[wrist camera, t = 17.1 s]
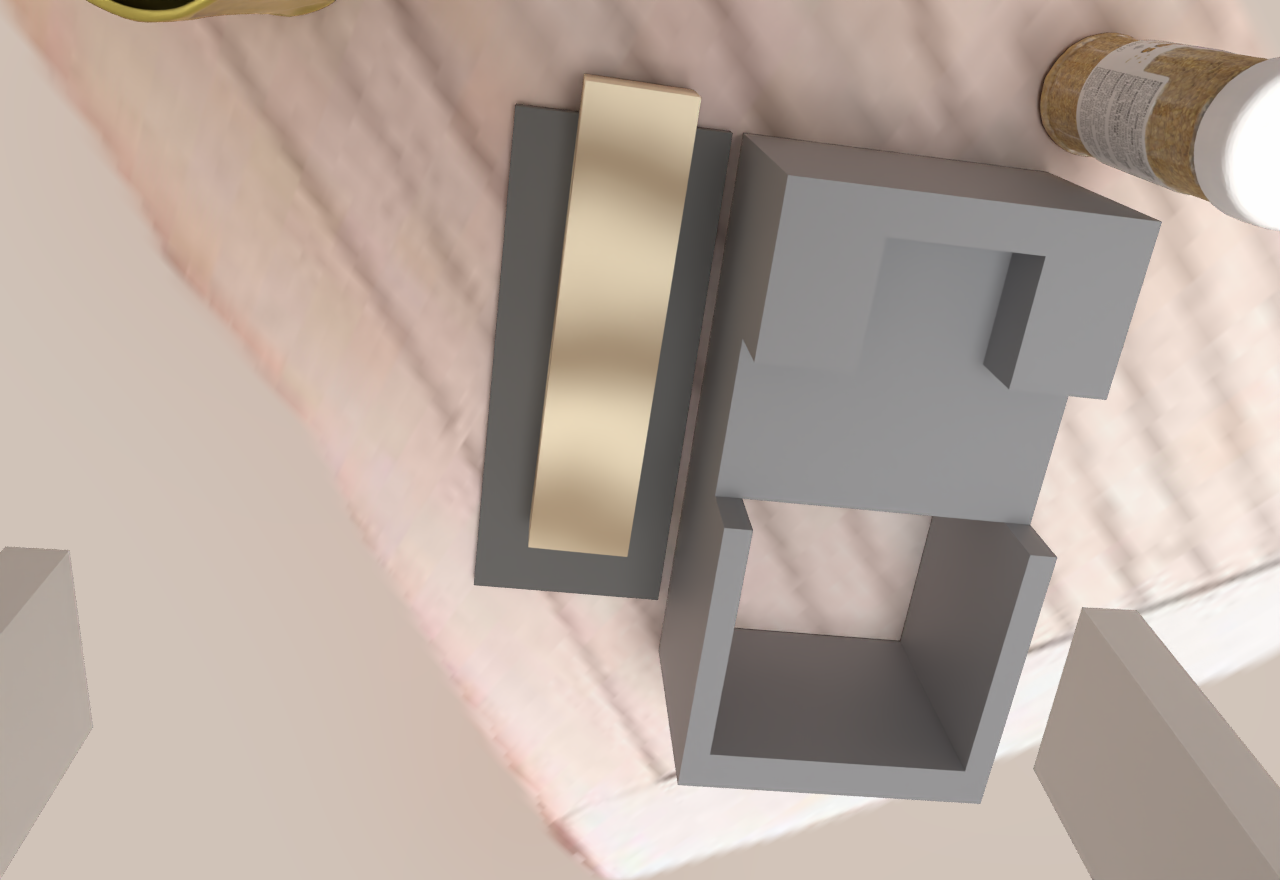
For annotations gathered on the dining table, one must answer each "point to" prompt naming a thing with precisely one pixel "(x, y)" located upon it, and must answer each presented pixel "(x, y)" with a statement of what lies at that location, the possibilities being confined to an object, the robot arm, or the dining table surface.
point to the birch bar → (610, 310)
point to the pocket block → (886, 452)
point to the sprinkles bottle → (1173, 118)
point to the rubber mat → (525, 359)
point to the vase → (205, 8)
